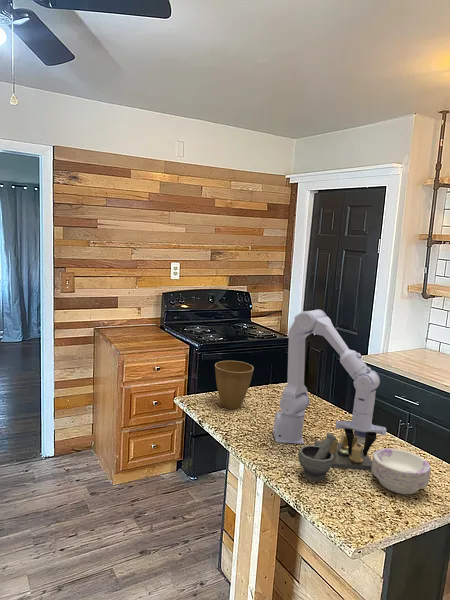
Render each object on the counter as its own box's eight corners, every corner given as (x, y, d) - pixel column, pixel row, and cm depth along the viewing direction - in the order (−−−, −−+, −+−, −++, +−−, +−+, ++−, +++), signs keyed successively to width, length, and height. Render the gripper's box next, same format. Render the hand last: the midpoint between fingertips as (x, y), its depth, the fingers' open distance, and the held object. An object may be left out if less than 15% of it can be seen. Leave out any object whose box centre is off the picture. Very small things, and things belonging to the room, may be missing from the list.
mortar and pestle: (311, 487, 126) (316, 445, 125) (289, 471, 134) (294, 431, 132) (341, 479, 132) (347, 439, 130) (319, 464, 140) (323, 426, 138)
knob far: (342, 449, 149) (344, 436, 148) (339, 443, 152) (341, 431, 152) (356, 450, 149) (358, 437, 148) (352, 444, 153) (354, 432, 152)
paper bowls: (376, 466, 142) (379, 442, 141) (430, 484, 134) (434, 458, 133) (363, 487, 129) (367, 460, 128) (422, 508, 121) (426, 479, 120)
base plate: (325, 466, 139) (326, 459, 138) (314, 444, 154) (315, 437, 153) (375, 470, 139) (376, 463, 139) (359, 447, 154) (360, 440, 154)
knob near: (361, 464, 139) (363, 451, 139) (348, 460, 141) (349, 447, 140) (364, 459, 143) (366, 446, 143) (351, 455, 145) (352, 442, 144)
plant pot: (214, 396, 189) (218, 358, 187) (251, 401, 187) (255, 363, 185) (208, 410, 175) (212, 368, 172) (247, 415, 173) (252, 373, 171)
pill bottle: (370, 444, 157) (373, 417, 156) (353, 442, 158) (357, 414, 157) (368, 438, 162) (372, 411, 161) (352, 435, 163) (356, 409, 162)
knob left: (322, 454, 144) (324, 441, 143) (319, 448, 148) (321, 435, 147) (337, 455, 144) (338, 442, 144) (333, 449, 148) (335, 436, 148)
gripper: (385, 409, 143) (379, 451, 145) (337, 403, 145) (331, 444, 147) (390, 418, 136) (383, 462, 138) (339, 411, 138) (333, 454, 140)
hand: (357, 453), depth 142 cm, fingers open, 4 cm apart
